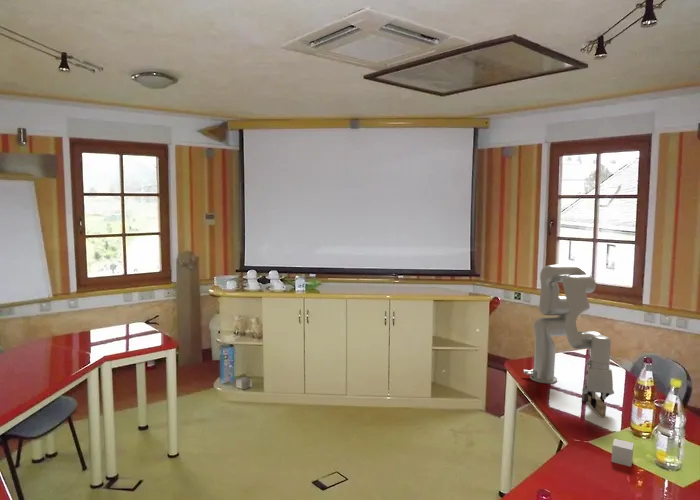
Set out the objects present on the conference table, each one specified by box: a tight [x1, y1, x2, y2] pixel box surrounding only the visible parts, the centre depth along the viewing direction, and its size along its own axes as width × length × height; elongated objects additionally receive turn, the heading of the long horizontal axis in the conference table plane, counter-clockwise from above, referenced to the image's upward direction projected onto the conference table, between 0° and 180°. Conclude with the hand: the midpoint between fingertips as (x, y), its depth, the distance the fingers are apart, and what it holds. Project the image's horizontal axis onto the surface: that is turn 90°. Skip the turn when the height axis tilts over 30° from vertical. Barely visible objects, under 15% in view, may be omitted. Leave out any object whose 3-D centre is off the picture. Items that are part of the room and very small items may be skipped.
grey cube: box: [611, 438, 635, 467], centre depth 175 cm, size 6×6×6 cm
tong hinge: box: [581, 391, 588, 403], centre depth 228 cm, size 5×3×4 cm, turn 80°
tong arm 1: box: [587, 394, 604, 418], centre depth 218 cm, size 1×16×5 cm, turn 171°
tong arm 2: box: [595, 392, 607, 418], centre depth 217 cm, size 1×16×5 cm, turn 169°
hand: (597, 406), depth 217 cm, fingers closed
